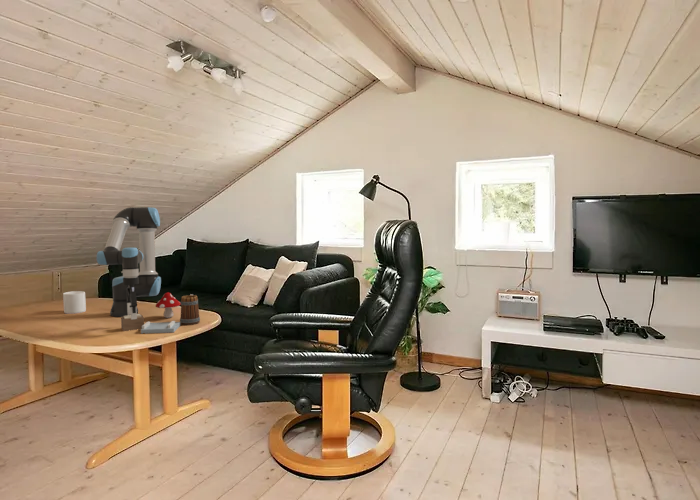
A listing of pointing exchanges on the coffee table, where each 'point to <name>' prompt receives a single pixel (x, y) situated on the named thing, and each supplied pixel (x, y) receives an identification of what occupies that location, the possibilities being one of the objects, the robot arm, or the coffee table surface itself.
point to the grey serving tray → (160, 327)
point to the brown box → (132, 322)
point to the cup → (74, 302)
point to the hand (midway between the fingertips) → (132, 317)
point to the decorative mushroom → (168, 304)
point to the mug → (189, 310)
